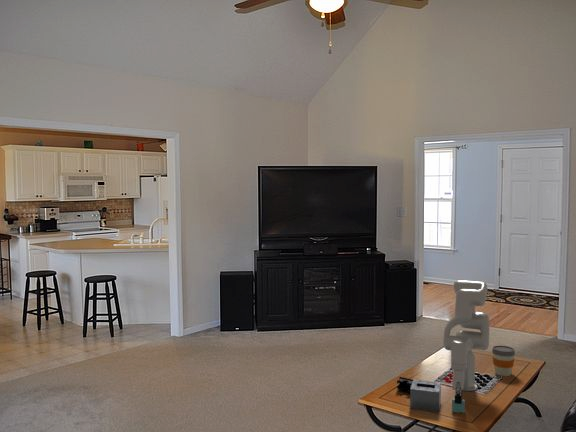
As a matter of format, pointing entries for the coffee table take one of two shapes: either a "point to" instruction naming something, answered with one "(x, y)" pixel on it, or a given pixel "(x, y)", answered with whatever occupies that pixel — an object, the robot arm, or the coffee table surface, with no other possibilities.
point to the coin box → (425, 395)
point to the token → (458, 406)
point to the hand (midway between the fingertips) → (458, 399)
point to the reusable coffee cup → (503, 360)
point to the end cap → (404, 385)
